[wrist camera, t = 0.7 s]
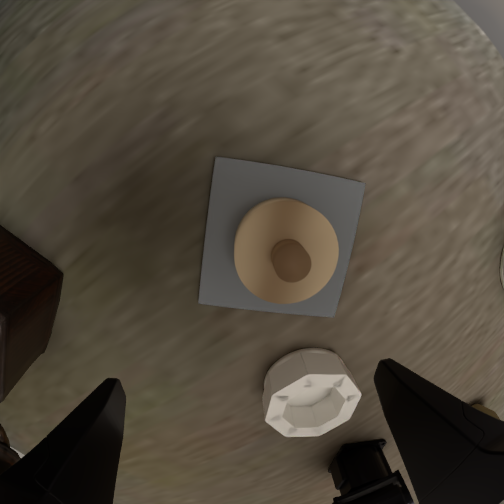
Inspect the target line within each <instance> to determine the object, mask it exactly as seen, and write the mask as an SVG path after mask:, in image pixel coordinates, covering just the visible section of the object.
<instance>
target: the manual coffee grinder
mask: <svg viewBox="0 0 504 504" xmlns="http://www.w3.org/2000/svg"><path fill="white" fill-rule="evenodd" d="M62 280H63V273H62V272H61V271H59V270H58V269H57V268H56V267H55V266H54V265H53V264H52V263H51V262H50V261H48V260H47V259H46V258H44V257H43V256H42V255H40V254H39V253H38V252H36V251H35V250H33V249H32V248H31V247H29V246H28V245H27V244H25V243H24V242H23V241H21V240H20V239H19V238H17V237H16V236H14V235H13V234H12V233H10V232H9V231H7V230H6V229H5V228H3V227H2V226H0V403H1V402H2V401H4V399H5V398H6V396H7V395H8V394H9V392H10V391H11V390H12V388H13V387H14V386H15V385H16V383H17V382H18V381H19V380H20V378H21V377H22V376H23V374H24V373H25V372H26V371H27V369H28V368H29V367H30V366H31V364H32V363H33V362H34V361H35V360H36V359H37V358H38V357H39V356H40V355H41V354H42V353H44V352H45V349H46V346H47V344H48V341H49V338H50V336H51V332H52V328H53V324H54V320H55V316H56V312H57V308H58V305H59V301H60V294H61V287H62ZM20 459H21V458H20V457H19V455H18V453H17V452H16V451H14V450H13V449H11V448H10V444H9V440H8V437H7V435H6V433H5V430H4V428H3V427H2V426H1V424H0V474H1V473H3V472H4V471H5V470H7V469H8V468H9V467H11V466H12V465H13V464H15V463H16V462H17V461H19V460H20Z"/></svg>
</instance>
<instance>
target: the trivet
mask: <svg viewBox="0 0 504 504" xmlns="http://www.w3.org/2000/svg"><path fill="white" fill-rule="evenodd" d="M365 184H366V183H362V182H358V181H353V180H349V179H344V178H340V177H335V176H330V175H325V174H321V173H316V172H310V171H305V170H300V169H294V168H289V167H283V166H277V165H271V164H265V163H258V162H252V161H245V160H238V159H231V158H223V157H216V158H215V165H214V172H213V179H212V186H211V194H210V201H209V209H208V217H207V225H206V234H205V243H204V252H203V261H202V271H201V281H200V291H199V302H198V304H206V305H214V306H221V307H230V308H238V309H247V310H256V311H266V312H275V313H286V314H297V315H309V316H321V317H334V316H335V312H336V309H337V305H338V302H339V298H340V295H341V291H342V287H343V283H344V280H345V276H346V272H347V268H348V264H349V260H350V255H351V251H352V247H353V243H354V238H355V234H356V229H357V224H358V220H359V215H360V210H361V205H362V200H363V195H364V189H365ZM277 197H286V198H293V199H296V200H299V201H302V202H303V203H305V204H307V205H309V206H310V207H312V208H314V209H315V210H317V211H318V212H320V213H321V214H322V215H323V216H324V217H325V218H326V219H327V220H328V221H329V222H330V224H331V225H332V227H333V229H334V231H335V234H336V236H337V240H338V247H339V255H338V262H337V265H336V268H335V271H334V273H333V275H332V277H331V278H330V280H329V281H328V283H327V284H326V285H325V286H324V287H323V288H322V289H321V290H320V291H319V292H317V293H316V294H315V295H313V296H311V297H310V298H308V299H305V300H303V301H300V302H296V303H291V304H277V303H271V302H268V301H265V300H263V299H261V298H259V297H257V296H255V295H254V294H253V293H252V292H250V291H249V290H248V289H247V288H246V287H245V285H244V284H243V283H242V281H241V279H240V278H239V276H238V273H237V270H236V267H235V261H234V242H235V234H236V231H237V228H238V225H239V223H240V221H241V220H242V218H243V217H244V216H245V214H246V213H247V212H248V211H249V210H250V209H252V208H253V207H254V206H256V205H257V204H259V203H261V202H263V201H265V200H268V199H272V198H277Z"/></svg>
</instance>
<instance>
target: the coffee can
mask: <svg viewBox="0 0 504 504" xmlns="http://www.w3.org/2000/svg"><path fill="white" fill-rule="evenodd" d="M500 278H501V283H502V286H503V288H504V247H503V251H502V255H501V263H500Z"/></svg>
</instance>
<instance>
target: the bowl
mask: <svg viewBox="0 0 504 504" xmlns="http://www.w3.org/2000/svg"><path fill="white" fill-rule="evenodd" d="M361 395H362V394H361V392H360V390H359V388H358V386H357V384H356V382H355V380H354V378H353V376H352V374H351V373H350V371H349V370H348V369H347V367H346V366H345V364H344V362H343V361H342V359H341V358H340V357H339V356H338V355H337V354H336V353H334V352H332V351H330V350H327V349H323V348H304V349H300V350H296V351H293V352H291V353H289V354H287V355H285V356H283V357H282V358H280V359H279V360H277V361H276V362H275V363H274V364H273V365H272V366H271V367H270V369H269V370H268V372H267V374H266V376H265V379H264V392H263V396H262V400H263V408H264V416H265V421H266V422H267V423H268V424H270V425H271V426H272V427H273V428H275V429H276V430H277V431H278V432H280V433H281V434H282V435H284V436H286V437H309V436H320V435H322V434H324V433H326V432H328V431H330V430H332V429H333V428H335V427H337V426H339V425H341V424H342V423H344V422H346V421H348V420H349V419H350V417H351V416H352V414H353V412H354V410H355V408H356V406H357V404H358V401H359V399H360V397H361Z"/></svg>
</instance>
